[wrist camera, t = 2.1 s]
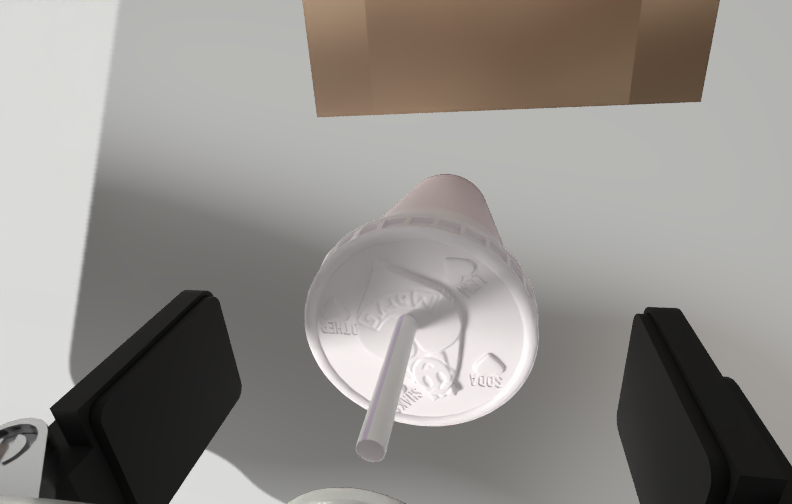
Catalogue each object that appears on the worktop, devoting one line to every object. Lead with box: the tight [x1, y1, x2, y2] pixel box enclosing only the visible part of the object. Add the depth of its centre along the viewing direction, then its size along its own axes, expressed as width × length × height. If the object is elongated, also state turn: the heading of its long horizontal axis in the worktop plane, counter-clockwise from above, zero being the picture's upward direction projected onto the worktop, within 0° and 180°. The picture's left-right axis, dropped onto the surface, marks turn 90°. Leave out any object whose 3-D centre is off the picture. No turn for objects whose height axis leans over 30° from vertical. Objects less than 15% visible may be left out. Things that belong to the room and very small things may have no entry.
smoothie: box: [304, 174, 539, 462], centre depth 15 cm, size 6×6×14 cm
